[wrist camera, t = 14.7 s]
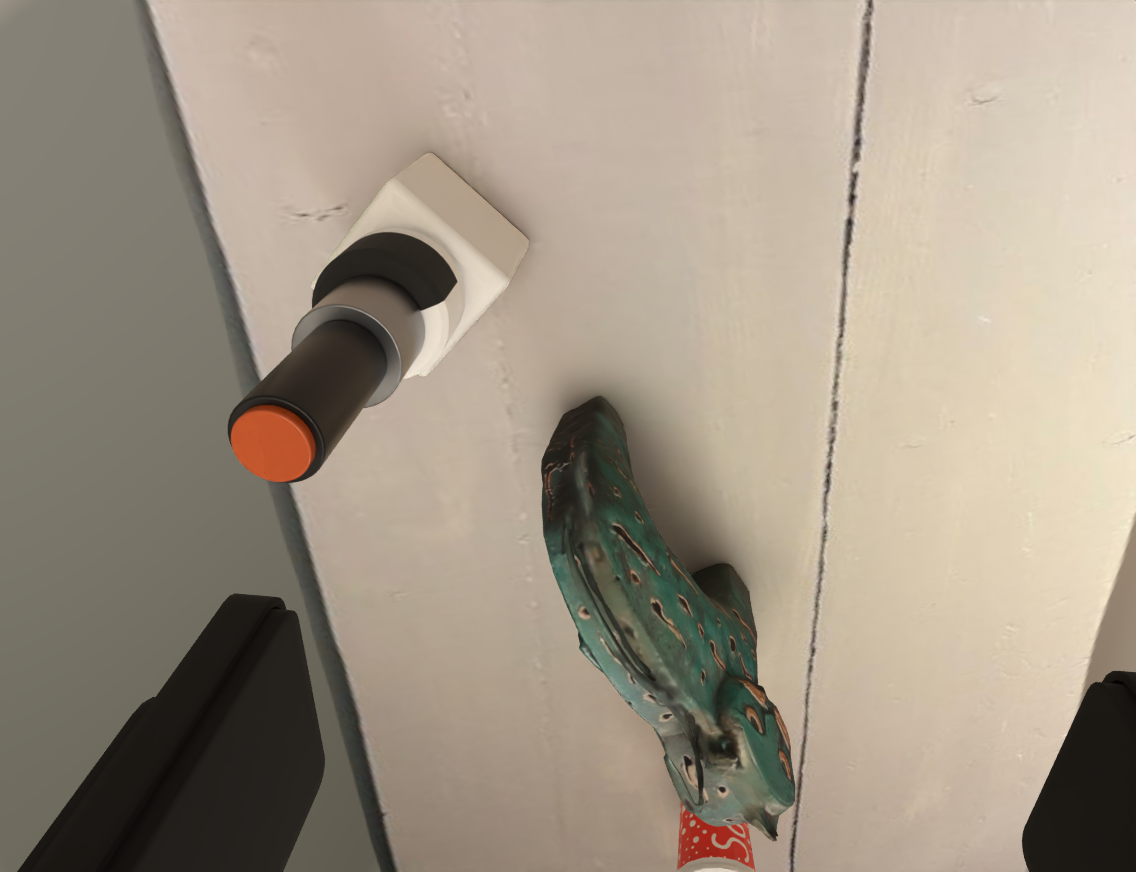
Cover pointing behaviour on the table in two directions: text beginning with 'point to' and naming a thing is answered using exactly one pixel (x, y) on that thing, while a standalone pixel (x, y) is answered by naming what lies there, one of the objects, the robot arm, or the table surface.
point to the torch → (327, 378)
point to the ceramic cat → (663, 629)
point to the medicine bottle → (430, 252)
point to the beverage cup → (713, 846)
